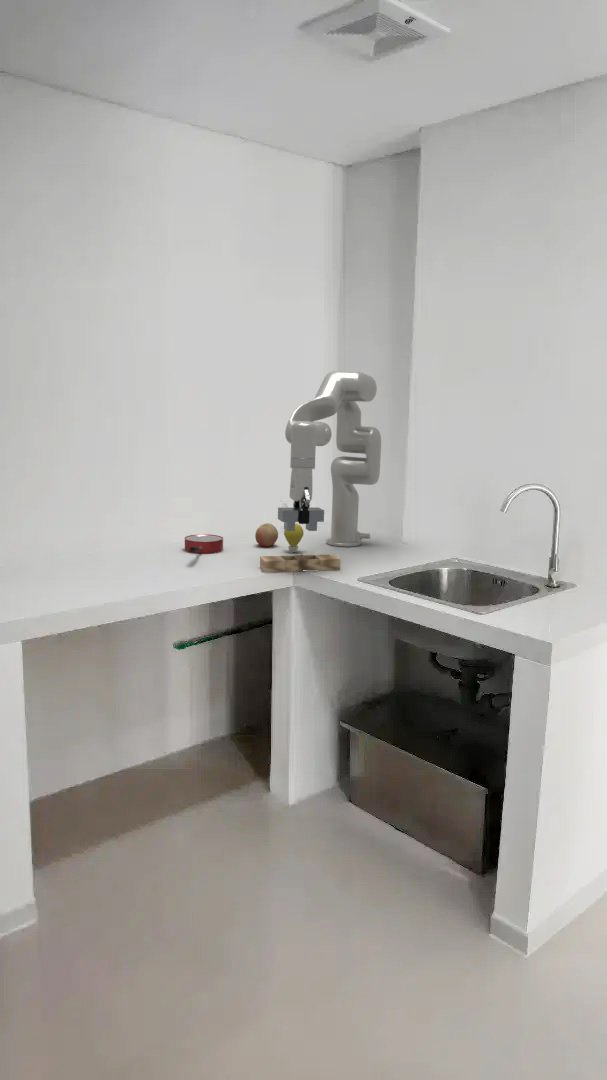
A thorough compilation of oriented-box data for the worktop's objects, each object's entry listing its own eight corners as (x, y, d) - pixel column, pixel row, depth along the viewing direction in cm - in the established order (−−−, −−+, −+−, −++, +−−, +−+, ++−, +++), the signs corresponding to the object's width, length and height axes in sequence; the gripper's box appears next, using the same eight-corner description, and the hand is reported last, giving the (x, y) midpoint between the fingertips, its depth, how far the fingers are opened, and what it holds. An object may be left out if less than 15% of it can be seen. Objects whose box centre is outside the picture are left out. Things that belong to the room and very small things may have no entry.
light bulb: (303, 550, 275) (304, 522, 273) (301, 554, 268) (302, 525, 266) (284, 549, 275) (285, 521, 273) (282, 553, 269) (283, 524, 267)
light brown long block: (333, 564, 254) (333, 554, 253) (340, 570, 247) (340, 559, 246) (259, 567, 248) (260, 556, 247) (264, 572, 241) (264, 561, 240)
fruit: (250, 545, 281) (251, 523, 280) (270, 543, 286) (270, 521, 284) (262, 549, 275) (262, 526, 273) (282, 547, 279) (282, 525, 278)
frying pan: (221, 567, 247) (221, 547, 245) (179, 567, 245) (179, 547, 244) (223, 546, 278) (223, 528, 277) (185, 546, 277) (185, 528, 276)
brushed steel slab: (317, 527, 249) (318, 507, 248) (323, 531, 243) (324, 510, 242) (277, 528, 246) (278, 507, 245) (282, 531, 240) (282, 510, 239)
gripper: (284, 461, 248) (282, 517, 252) (297, 466, 232) (295, 526, 235) (307, 461, 250) (305, 517, 254) (322, 466, 234) (320, 526, 237)
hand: (300, 521), depth 244 cm, fingers closed on brushed steel slab, 6 cm apart
